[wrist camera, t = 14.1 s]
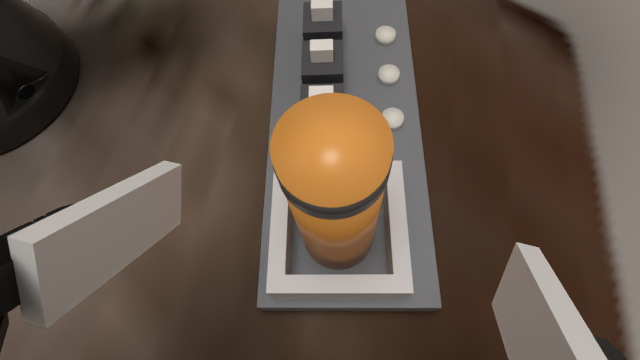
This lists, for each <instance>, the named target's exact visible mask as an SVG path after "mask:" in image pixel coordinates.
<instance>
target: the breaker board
mask: <svg viewBox="0 0 640 360" xmlns="http://www.w3.org/2000/svg"><path fill="white" fill-rule="evenodd" d="M323 93H344V94H349V95H353V96H356V97H359V98H361V99H363V100H365V101H367V102H369V103H370V104H372V105H373V106H374V107H375V108H377V109H378V110H379V111H380V112H381V114H382V115H383V116H384V117H385V119H386V120H387V122H388V124H389V126H390V128H391V131H392V135H393V141H394V152H393V162H392V167H391V171H390V175H389V179H388V182H387V185H386V188H385V190H384V195H383V199H382V203H381V207H380V211H379V215H378V219H377V224H376V228H375V232H374V236H373V240H372V244H371V247H370V250H369V252H368V254H367V255H366V257H365V258H364V259H363V260H362V261H361V262H360V263H358V264H357V265H355V266H353V267H351V268H348V269H343V270H334V269H329V268H326V267H323V266H322V265H320V264H318V263H317V262H316V261H315V260H314V259H313V258H312V257H311V256H310V254H309V253H308V251H307V249H306V246H305V244H304V241H303V239H302V236H301V234H300V231H299V229H298V226H297V224H296V221H295V219H294V216H293V214H292V211H291V209H290V206H289V204H288V201H287V199H286V197H285V195H284V193H283V192H282V190H281V187H280V185H279V183H278V180H277V178H276V175H275V173H274V170H273V166H272V161H271V156H270V141H271V136H272V133H273V130H274V128H275V126H276V124H277V122H278V120H279V119H280V118H281V116H282V115H283V114H284V113H285V112H286V111H287V110H288V109H289V108H290V107H292V106H293V105H294V104H296V103H297V102H299V101H301V100H303V99H305V98H308V97H310V96H314V95H317V94H323ZM257 308H259V309H261V310H263V311H436V310H438V309H440V308H442V307H441V298H440V290H439V281H438V273H437V264H436V256H435V247H434V239H433V231H432V222H431V214H430V205H429V197H428V188H427V180H426V171H425V163H424V155H423V146H422V138H421V129H420V121H419V112H418V104H417V95H416V87H415V79H414V70H413V62H412V53H411V45H410V36H409V28H408V19H407V11H406V3H405V0H279V7H278V21H277V35H276V48H275V62H274V76H273V90H272V103H271V117H270V131H269V144H268V158H267V172H266V186H265V199H264V213H263V227H262V240H261V254H260V268H259V282H258V295H257Z"/></svg>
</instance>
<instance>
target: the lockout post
mask: <svg viewBox="0 0 640 360" xmlns="http://www.w3.org/2000/svg"><path fill="white" fill-rule="evenodd" d="M393 152H394V141H393V135H392V131H391V128H390V126H389V124H388V122H387V120H386V119H385V117H384V116H383V115H382V114H381V112H380V111H379V110H378V109H377V108H375V107H374V106H373V105H372V104H370V103H369V102H367V101H365V100H363V99H361V98H359V97H356V96H353V95H349V94H344V93H323V94H317V95H314V96H310V97H308V98H305V99H303V100H301V101H299V102H297V103H296V104H294V105H293V106H292V107H290V108H289V109H288V110H287V111H286V112H285V113H284V114H283V115H282V116H281V118H280V119H279V120H278V122H277V124H276V126H275V128H274V130H273V133H272V136H271V141H270V156H271V161H272V166H273V170H274V173H275V175H276V178H277V180H278V183H279V185H280V187H281V190H282V192H283V193H284V195H285V197H286V199H287V201H288V204H289V206H290V209H291V211H292V214H293V216H294V219H295V221H296V224H297V226H298V229H299V231H300V234H301V236H302V239H303V241H304V244H305V246H306V249H307V251H308V253H309V254H310V256H311V257H312V258H313V259H314V260H315V261H316V262H317V263H318V264H320V265H322V266H323V267H326V268H329V269H334V270H343V269H348V268H351V267H353V266H355V265H357V264H358V263H360V262H361V261H362V260H363V259H364V258H365V257H366V255H367V254H368V252H369V250H370V247H371V244H372V240H373V236H374V232H375V228H376V224H377V219H378V215H379V211H380V207H381V203H382V199H383V195H384V190H385V188H386V185H387V182H388V179H389V175H390V171H391V167H392V162H393Z"/></svg>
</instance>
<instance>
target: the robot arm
mask: <svg viewBox="0 0 640 360" xmlns="http://www.w3.org/2000/svg"><path fill="white" fill-rule="evenodd" d="M78 75H79V57H78V53H77V50H76V48H75V46H74V44H73V43H72V41H71V40H70V39H69V38H68V37H67V36H66V35H65V33H64V32H63V31H62V30H61V29H60V28H59V27H58V25H57V24H56V23H55V22H54V21H53V20H51V19H50V18H49V17H48V16H47V15H45V14H44V13H42V12H40V11H39V10H37V9H35V8H34V7H32V6H31V5H29V4H28V3H26V2H25V1H23V0H0V154H1V153H4V152H6V151H9V150H11V149H13V148H15V147H17V146H19V145H21V144H22V143H24V142H26V141H27V140H29V139H30V138H32V137H33V136H35V135H36V134H37V133H39V132H40V131H41V130H42V129H44V128H45V127H46V126H47V125H48V124H49V123H50V122H51V121H52V120H53V119H54V118H55V117H56V116H57V115H58V114H59V113H60V111H61V110H62V109H63V107H64V106H65V105H66V103H67V102H68V100H69V98H70V97H71V95H72V93H73V91H74V88H75V86H76V83H77V79H78ZM179 224H181V164H177V163H173V162H169V161H163V162H161V163H158V164H156V165H154V166H152V167H150V168H148V169H146V170H144V171H142V172H140V173H138V174H136V175H134V176H132V177H129V178H127V179H125V180H123V181H121V182H119V183H117V184H115V185H113V186H111V187H109V188H107V189H105V190H103V191H100V192H98V193H96V194H94V195H92V196H90V197H88V198H86V199H84V200H82V201H80V202H78V203H75V204H71V205H67V206H63V207H60V208H58V209H56V210H53V211H51V212H49V213H47V214H46V215H45V216H41V217H39V218H37V219H34V221H33V222H31V221H30V222H28V223H26V224H24V225H22V226H20V227H17V228H15V229H13V230H11V231H9V232H7V233H5V234H3V235H1V236H0V352H1V349H2V346H3V342H4V339H5V335H6V332H7V328H8V325H9V319H8V312H9V311H11V310H12V309H14V308H15V307H17V306H18V305H20V308H21V314H22V319H23V322H26V323H29V324H32V325H35V326H38V327H41V328H44V329H47V328H48V327H50V326H51V325H52V324H54V323H55V322H56V321H57V320H59V319H60V318H61V317H62V316H64V315H65V314H66V313H68V312H69V311H70V310H71V309H73V308H74V307H75V306H76V305H78V304H79V303H80V302H81V301H83V300H84V299H85V298H87V297H88V296H89V295H90V294H92V293H93V292H94V291H95V290H97V289H98V288H99V287H101V286H102V285H103V284H104V283H106V282H107V281H108V280H109V279H111V278H112V277H113V276H114V275H116V274H117V273H118V272H120V271H121V270H122V269H123V268H125V267H126V266H127V265H128V264H130V263H131V262H132V261H134V260H135V259H136V258H137V257H139V256H140V255H141V254H142V253H144V252H145V251H146V250H148V249H149V248H150V247H151V246H153V245H154V244H155V243H156V242H158V241H159V240H160V239H161V238H163V237H164V236H165V235H167V234H168V233H169V232H170V231H172V230H173V229H174V228H175V227H177V226H178V225H179ZM492 307H493V310H494V313H495V317H496V320H497V323H498V327H499V330H500V333H501V337H502V340H503V343H504V346H505V350H506V353H507V356H508V360H627V359H626V357H625V356H624V355H623V354H622V353H621V352H620V351H619V350H617V349H616V348H615V347H614V346H613V345H612V344H611V343H610V342H609V341H608V340H606V339H602V338H598V337H595V336H593V335H592V333H591V332H590V330H589V329H588V327H587V325H586V324H585V322H584V320H583V319H582V317H581V316H580V314H579V312H578V311H577V309H576V307H575V306H574V304H573V303H572V301H571V299H570V298H569V296H568V294H567V293H566V291H565V290H564V288H563V286H562V285H561V283H560V281H559V280H558V278H557V276H556V275H555V273H554V272H553V270H552V268H551V267H550V265H549V263H548V262H547V260H546V259H545V257H544V255H543V254H542V252H541V250H540V249H539V247H534V246H530V245H526V244H521V243H517V242H516V244H515V246H514V249H513V251H512V254H511V256H510V259H509V261H508V264H507V266H506V269H505V271H504V274H503V276H502V279H501V281H500V284H499V286H498V289H497V292H496V294H495V297H494V299H493V302H492Z"/></svg>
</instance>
